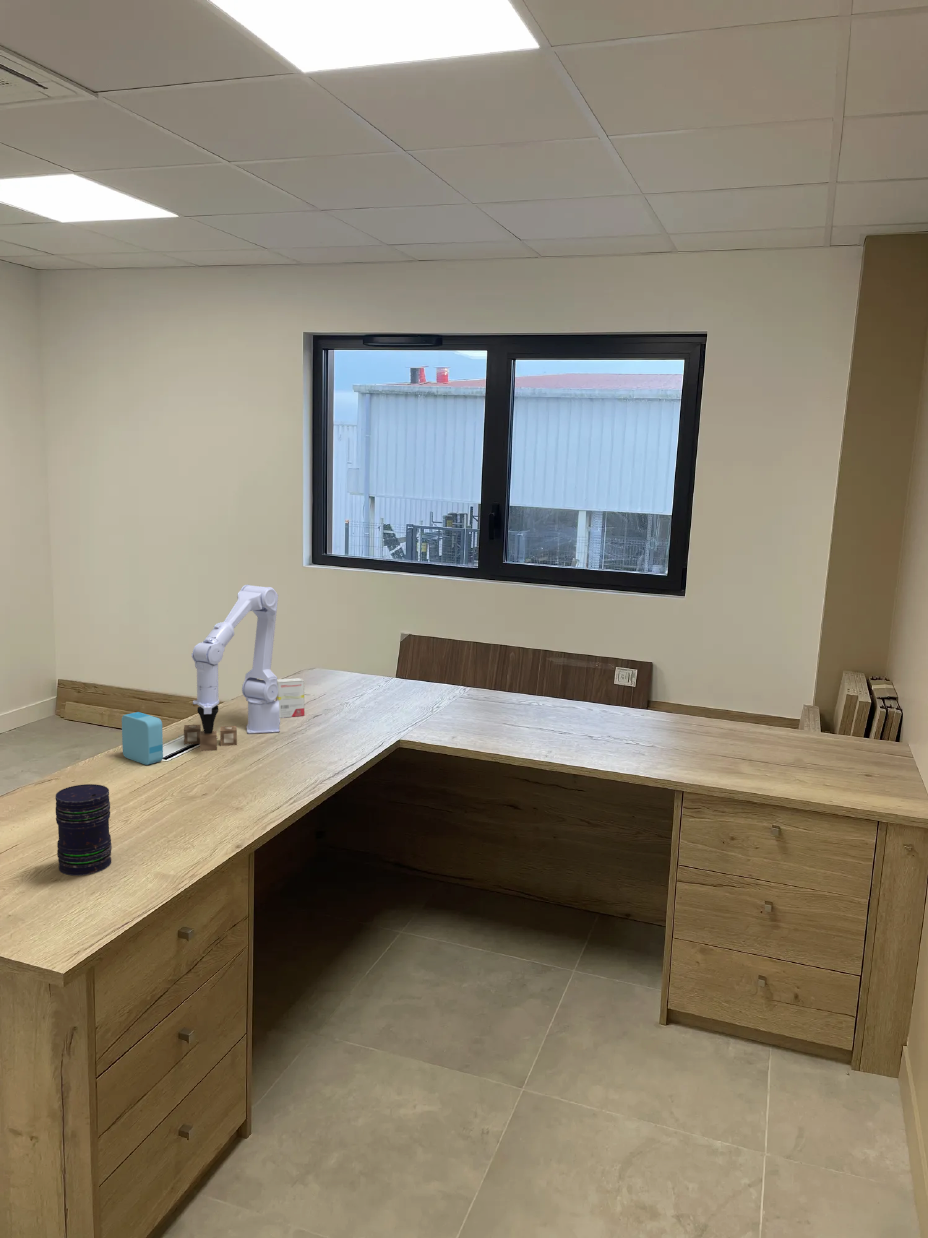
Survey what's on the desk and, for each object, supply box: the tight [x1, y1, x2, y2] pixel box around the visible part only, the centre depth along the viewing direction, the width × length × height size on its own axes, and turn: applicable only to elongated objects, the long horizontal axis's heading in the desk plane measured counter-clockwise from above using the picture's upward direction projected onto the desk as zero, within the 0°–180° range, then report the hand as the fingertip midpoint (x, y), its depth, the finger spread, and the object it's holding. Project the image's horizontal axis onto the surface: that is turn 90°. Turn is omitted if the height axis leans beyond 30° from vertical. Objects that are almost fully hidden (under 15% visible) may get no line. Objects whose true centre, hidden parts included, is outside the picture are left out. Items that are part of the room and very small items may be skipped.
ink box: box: [274, 677, 305, 719], centre depth 285 cm, size 9×5×12 cm, turn 114°
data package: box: [121, 711, 164, 766], centre depth 238 cm, size 12×4×12 cm, turn 54°
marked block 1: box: [183, 724, 202, 745], centre depth 255 cm, size 4×5×5 cm
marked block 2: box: [219, 725, 238, 747], centre depth 255 cm, size 4×5×5 cm
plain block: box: [199, 730, 218, 752], centre depth 250 cm, size 4×4×4 cm
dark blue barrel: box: [55, 783, 113, 877], centre depth 174 cm, size 10×10×15 cm
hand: (208, 732), depth 249 cm, fingers closed
